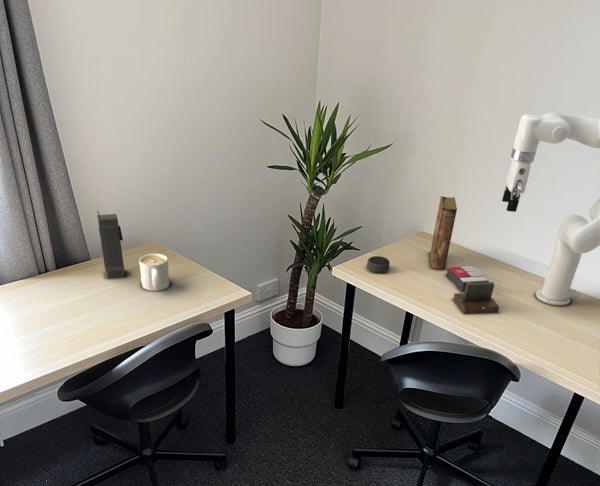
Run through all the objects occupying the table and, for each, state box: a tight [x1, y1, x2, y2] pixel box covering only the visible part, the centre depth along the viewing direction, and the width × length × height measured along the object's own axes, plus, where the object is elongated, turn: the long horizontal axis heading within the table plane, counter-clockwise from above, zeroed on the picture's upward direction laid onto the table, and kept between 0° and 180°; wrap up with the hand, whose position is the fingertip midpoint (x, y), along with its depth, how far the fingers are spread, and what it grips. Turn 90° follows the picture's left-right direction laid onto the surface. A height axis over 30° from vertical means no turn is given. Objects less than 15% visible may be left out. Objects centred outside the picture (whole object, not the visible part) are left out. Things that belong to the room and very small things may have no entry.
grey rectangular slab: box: [463, 281, 496, 301], centre depth 220 cm, size 10×2×7 cm, turn 99°
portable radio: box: [96, 211, 126, 279], centre depth 223 cm, size 8×6×25 cm
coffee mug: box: [138, 253, 170, 292], centre depth 221 cm, size 13×10×10 cm
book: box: [429, 195, 458, 271], centre depth 247 cm, size 16×6×25 cm, turn 172°
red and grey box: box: [446, 265, 490, 292], centre depth 238 cm, size 11×4×15 cm
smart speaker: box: [366, 255, 391, 274], centre depth 244 cm, size 9×9×4 cm
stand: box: [452, 292, 500, 315], centre depth 223 cm, size 14×14×3 cm
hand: (508, 206), depth 212 cm, fingers open, 9 cm apart
